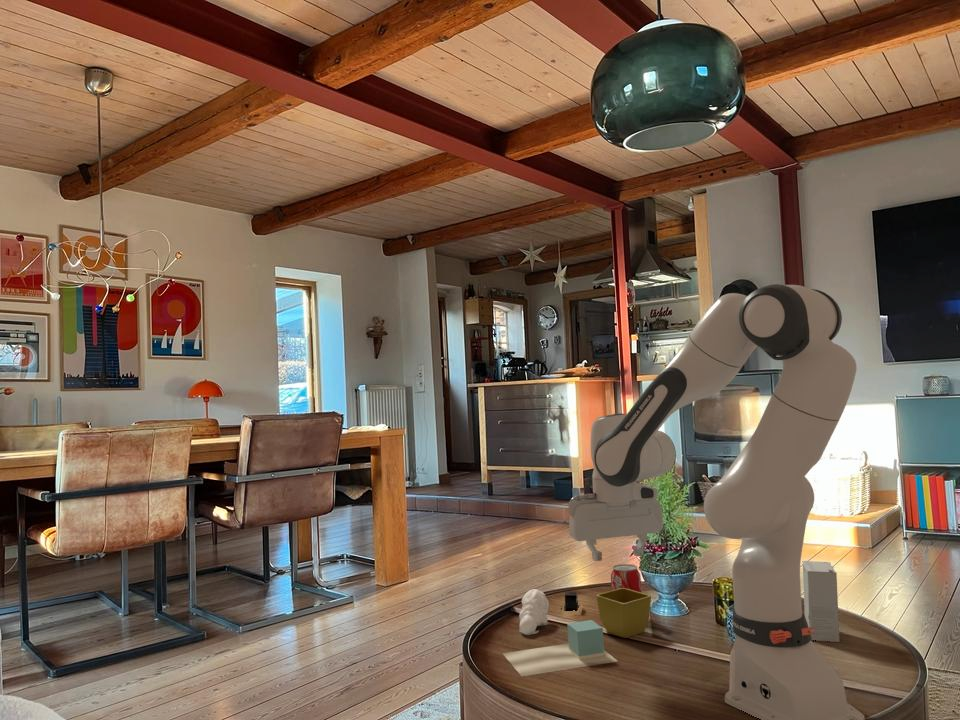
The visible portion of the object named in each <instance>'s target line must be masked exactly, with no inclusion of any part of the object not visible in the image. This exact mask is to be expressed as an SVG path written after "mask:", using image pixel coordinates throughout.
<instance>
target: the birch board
mask: <svg viewBox="0 0 960 720" xmlns="http://www.w3.org/2000/svg"><path fill="white" fill-rule="evenodd" d="M502 655H503V656H504V657H505V659H506V661H508V662H509V664H510V665H512V667H513V668H514V670H516V672H517V673H518V674H519V676H520V677H521V678H522V677H523V678H524V677H528V676H535V675H541V674H547V673H548V674H549V673H554V672H555V673H556V672H560V671H566V670H572V669H578V668H579V669H580V668H586V667H593V666H599V665H604V664H610V663H611V664H612V663H619V661H618V660H617V659H616V658H614V657H613V656H612V655H611V654H610V653H608V651H606V650H605V649H604V656H599V657H592V658H586V659H578V658H577V657H576V656H574V655H573V654H572V653H571V652H570V651H569V646H568V643H562V644H557V645H555V644H554V645H550V646H549V645H548V646H543V647H536V648H529V649H523V650H517V651H510V652H503V653H502Z"/></svg>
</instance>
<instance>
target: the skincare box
mask: <svg viewBox="0 0 960 720" xmlns="http://www.w3.org/2000/svg"><path fill="white" fill-rule="evenodd" d="M801 562H802V581H803V583H802V584H803V605H804V606H803V608H804V613H803V614H804V615H805V618H806V621H807V623H808V627H814V629H813V630H811V631H810V632H814V633H815V634H811V636H812V639H811V641H813V640H814V641H815V640H816V641H815V642H827V641H828V642H829V641H830V642H829V643H839V642H840V623H839V622H840V621H839V620H840V619H839V601H838V600H839V598H838V595H839V594H838V577H837V576H838V575H837V572H836V571H835V569H834V566H833V565H832V564H831V562H829V561H812V560H811V561H810V560H803V561H801Z"/></svg>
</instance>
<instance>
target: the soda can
mask: <svg viewBox="0 0 960 720" xmlns="http://www.w3.org/2000/svg"><path fill="white" fill-rule="evenodd" d="M612 569H613V570H612V571H611V574H610V588H611V589H610V591H612V590H616V589H620V588H626V589H630V590H633V591H637V592H641V593H643V592H642V591H643V589H642V579H641V573H640V572H639V570H638V566H637V565H635V564H629V563H626V564H625V563H622V564H616V565H614V566H612Z"/></svg>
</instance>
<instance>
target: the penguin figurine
mask: <svg viewBox="0 0 960 720" xmlns="http://www.w3.org/2000/svg"><path fill="white" fill-rule="evenodd" d="M521 605H522V607H521V611H519V615H518V616H519V621H520V622H519V629H518V631H519V632H520V634H523V635H525V636H530V635H534V634H535V635H536V634H538V633H539V631H540V630H539V629H538V630H536V629H537V627H538V626H546V625H548V621H549V620H548V616H547V614H548V612H549V605H550V602H549V600H548V598H547V596H546V594H545V593H544V592H543V591H542V590H539V589H537V588H535V589H534V588H533V589H530V590H528V591H527V592H526V593H525V594H524V596H523V597H522V598H521Z"/></svg>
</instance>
